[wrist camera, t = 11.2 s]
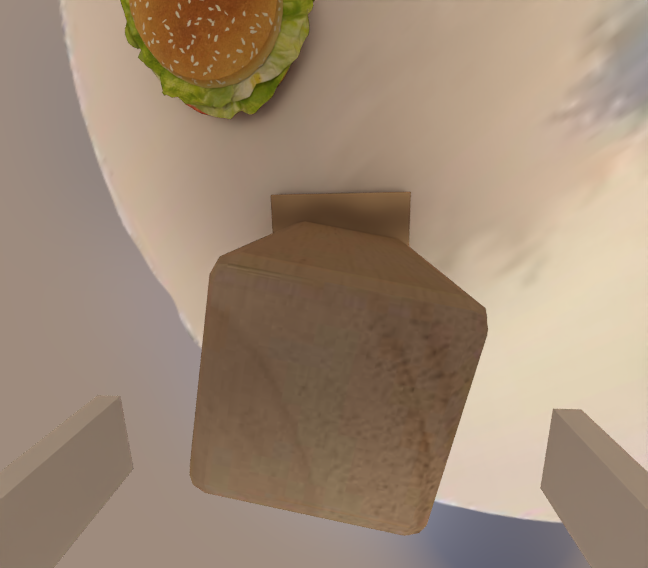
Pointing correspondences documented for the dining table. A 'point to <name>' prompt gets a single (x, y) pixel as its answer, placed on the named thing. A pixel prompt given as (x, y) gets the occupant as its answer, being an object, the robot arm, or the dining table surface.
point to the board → (346, 212)
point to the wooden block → (333, 377)
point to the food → (218, 48)
